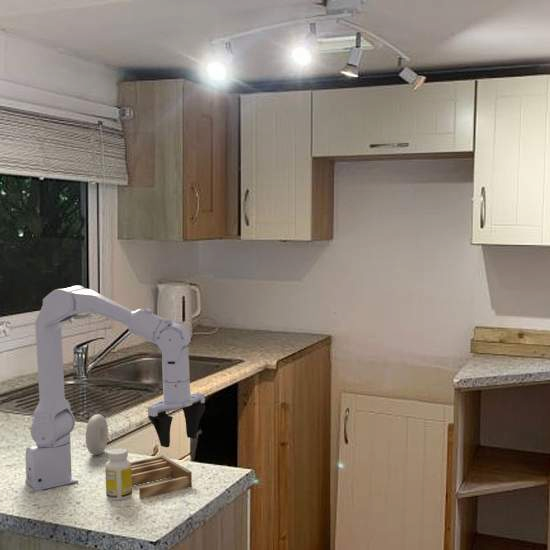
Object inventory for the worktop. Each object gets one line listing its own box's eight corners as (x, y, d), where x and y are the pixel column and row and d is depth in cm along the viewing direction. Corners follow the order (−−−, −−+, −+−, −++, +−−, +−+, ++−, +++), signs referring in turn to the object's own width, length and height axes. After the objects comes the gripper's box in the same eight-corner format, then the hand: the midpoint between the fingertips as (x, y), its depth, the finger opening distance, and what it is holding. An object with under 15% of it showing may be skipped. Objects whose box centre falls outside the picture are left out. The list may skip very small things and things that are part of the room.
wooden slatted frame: (141, 499, 157) (140, 483, 156) (114, 480, 168) (114, 465, 168) (191, 487, 163) (191, 471, 163) (162, 469, 175) (162, 455, 175)
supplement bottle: (132, 490, 162) (131, 446, 161) (131, 500, 156) (130, 454, 156) (106, 492, 161) (105, 448, 160) (105, 502, 155) (104, 456, 155)
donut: (97, 447, 192) (96, 409, 191) (110, 448, 192) (109, 409, 191) (84, 460, 182) (82, 420, 181) (97, 460, 182) (96, 420, 181)
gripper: (162, 388, 153) (165, 453, 154) (213, 376, 163) (215, 437, 164) (140, 384, 157) (143, 447, 158) (191, 372, 168) (193, 431, 169)
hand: (178, 441), depth 162 cm, fingers open, 7 cm apart
